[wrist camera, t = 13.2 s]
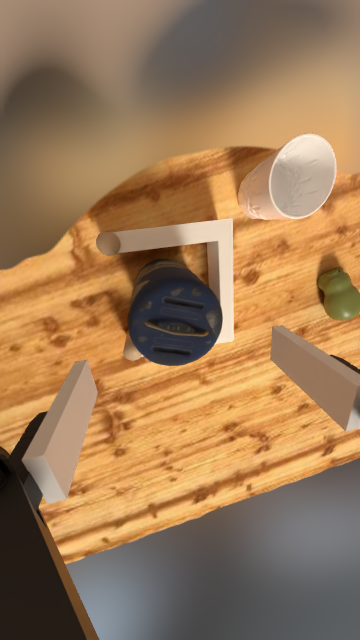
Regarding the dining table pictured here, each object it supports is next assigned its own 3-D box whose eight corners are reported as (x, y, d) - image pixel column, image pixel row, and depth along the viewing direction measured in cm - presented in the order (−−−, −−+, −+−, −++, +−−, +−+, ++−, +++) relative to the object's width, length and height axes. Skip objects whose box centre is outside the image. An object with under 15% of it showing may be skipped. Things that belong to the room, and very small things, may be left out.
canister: (150, 246, 33) (153, 257, 16) (202, 273, 35) (250, 307, 19) (125, 300, 35) (106, 357, 19) (176, 321, 38) (198, 388, 21)
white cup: (272, 228, 34) (318, 225, 25) (227, 216, 33) (259, 209, 23) (290, 172, 32) (349, 146, 22) (242, 156, 30) (285, 121, 21)
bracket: (128, 342, 38) (125, 361, 32) (103, 233, 31) (93, 232, 25) (221, 326, 40) (234, 342, 34) (218, 220, 33) (233, 216, 27)
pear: (343, 328, 37) (327, 277, 35) (321, 321, 42) (306, 276, 40) (373, 314, 37) (359, 261, 34) (347, 309, 42) (334, 262, 40)
